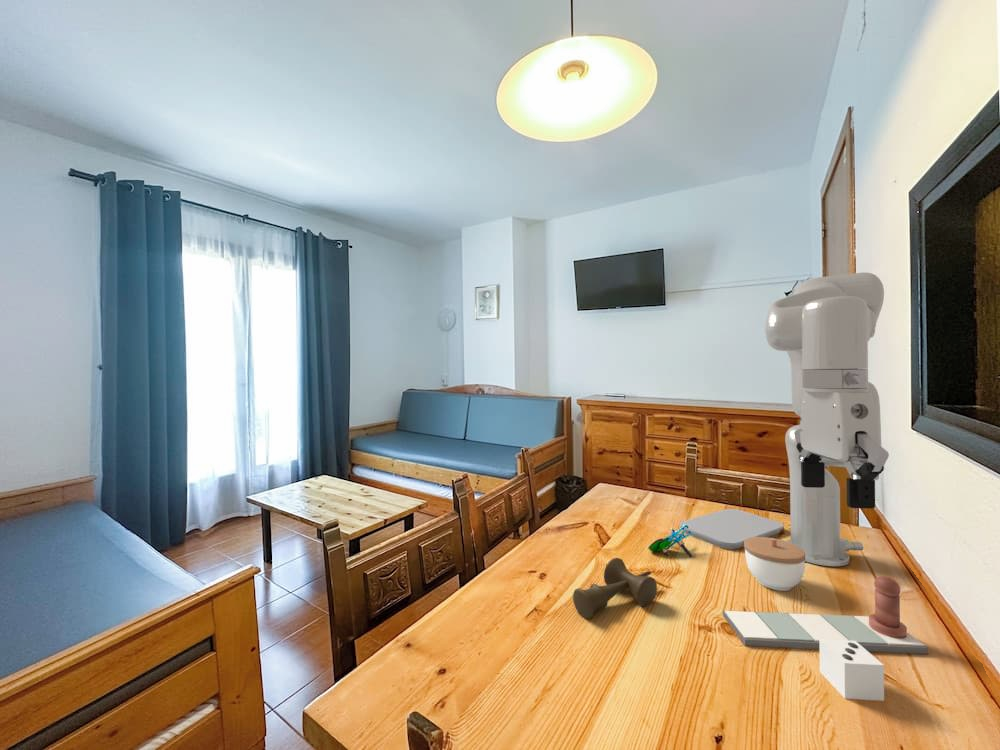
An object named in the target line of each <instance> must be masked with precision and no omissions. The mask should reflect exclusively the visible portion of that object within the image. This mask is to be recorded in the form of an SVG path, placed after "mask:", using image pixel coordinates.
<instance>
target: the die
mask: <svg viewBox="0 0 1000 750" xmlns="http://www.w3.org/2000/svg"><path fill="white" fill-rule="evenodd" d="M819 647H820V649H819V673H821V675H822V676H824V677H825V679H826V680H827V681H828V683H830V684H831V685H832V686H833V688H834V689H836V691H837V692H838V693H839V694H840V695H841V696H842V697H843V698H844V699H848V700H849V699H850V700H851V699H852V700H864V701H865V700H866V701H882V702H884V701H885V665H884V663H882V662H881V661H880V660H879V659H877V658H876V657H875V656H874V655H873V654H872V653H870V651H867V650H866V649H865V648H863V647H862V646H861V645H860V644H859V643H857V642H856V641H852V640H830V639H819Z"/></svg>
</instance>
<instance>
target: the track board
mask: <svg viewBox="0 0 1000 750" xmlns="http://www.w3.org/2000/svg"><path fill="white" fill-rule="evenodd" d="M869 616H870V615H848V614H847V615H846V614H845V615H844V614H841V615H840V614H822V613H817V614H816V613H795V612H794V613H792V612H769V611H767V612H766V611H764V612H763V611H744V610H743V611H742V610H741V611H739V610H723V611H722V617H723V619H725V621H726V622H727V624H729V626H730V627H731V629H732V630H733V632H734V633H735V634H736V636H737V637H738V639H740V641H741V642H742V643H743V645H744V647H745V646H746V647H747V646H749V647H765V648H766V647H769V648H789V649H808V650H809V649H811V650H820V647H819V639H830V640H852V641H856V642H857V643H859V644H860V645H861V646H862V647H863V648H865V649H866V650H867V651H868V652H873V653H874V652H875V653H898V654H914V655H915V654H916V655H917V654H918V655H919V654H920V655H929V647H928V646H926V645H925V643H923V642H921V641H920V640H918V639H917V638H915V637H914V636H913V635H912V634H910V633H909V632H907V637H906V638H903V639H897V638H892V637H888V636H885V635H883V634H880V633H878V632H877V631H875V630H873V629H872V628H871V627H870V626H869Z"/></svg>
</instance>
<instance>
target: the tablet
mask: <svg viewBox="0 0 1000 750" xmlns="http://www.w3.org/2000/svg"><path fill="white" fill-rule="evenodd" d="M684 525H687V526H688V527H689V528H687V527H685V528H684V529H685V530H686V531H685V533H684V534H685V535H687V534H689V531H690V532H691V533H692V535H690V536H692V537H694V538H697V539H699V540H702V541H705V542H706V543H709V544H711V545H714V546H716V547H719V548H721V549H726V550H736V549H739V548H742V547H744V541H745V540H746V539H748V538H751V537H769V538H770V537H771V536H775V535H778V534H780V533H781V530H784V524H783V523H782V522H780V521H777V520H774V519H771V518H767V517H765V516H761V515H757V514H754V513H752V512H748V511H745V510H741V509H736V508H724V509H721V510H718V511H714V512H711V513H706V514H704V515H701V516H697V517H693V518H690V519H685V520H682V521H681V522H679V527H680V528H682V527H683V526H684Z"/></svg>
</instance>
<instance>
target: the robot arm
mask: <svg viewBox="0 0 1000 750" xmlns="http://www.w3.org/2000/svg"><path fill="white" fill-rule="evenodd" d="M884 298H885V288H884V285H883V282H882V280H881V279H880V277H878V276H877V275H876V274H873V273H872V272H856V273H846V274H845V273H844V274H838V275H829V276H821V277H815V278H811V279H808V280H805V281H803V282H802V283H801V284H799V285H798V286H797V288H795V290H794V292H793V294H792V295H790V296H786V297H784V298H780V299H778V300H776V301H775V302H773V303H772V304H771V305H770V306H769V309H767V310H768V311H767V314H766V319H765V320H766V321H765V327H764V328H765V338H766V341H767V343H768V345H769V347H770V348H772V349H774V350H777V351H781V352H786V353H787V355H788V358H789V360H790V361H789V362H790V370H791V403H792V404H791V405H792V409H793V412H794V414H795V415H796V416H798V417H800V421H799V423H800V424H796V425H793V426H791V427H790V428H788V429H787V431H786V433H785V437H784V438H785V440H784V441H785V448H786V454H787V460H788V468H789V491H790V492H789V493H790V494H789V495H790V496H789V498H790V499H789V502H790V503H789V505H790V509H789V510H790V511H789V513H790V517H789V518H790V539H787V540H785V541H786V542H789V543H792V544H794V545H796V546H798V547H800V548H801V549H802V550H803V551H804V552H805V562H806V563H810V564H813V565H819V566H824V567H843V566H847V565H849V563H850V556H849V555H848V553H847V552H849V551H863V550H864V545H863V544H862V542H860V541H849V540H848V538H841V488H840V484H839V482H838V480H837V478H835V476H834V475H833V474H832V473H831V472H830V471H829V470H828V469H827V468H826V467H840V468H845V469H846V471H847V473H848V475H849V477H846V505H847V507H849V508H851V509H872V510H873V509H875V507H876V481H878V480H879V479H880V474H882V472H884V470H885V465H886V462H887V460H888V458H889V454H890V453H889V452H888V450H886V449H885V448H884V447H883V446H882V430H881V429H882V428H881V427H882V425H881V404H880V395H879V392H878V390H877V388H876V386H875V385H874V384H873V383H872V382H870V381H869V369H868V368H869V349H868V348H869V347H868V345H869V341H870V339H871V338H873V337H874V336H875V334H876V327H877V322H878V319H879V316H880V313H881V310H882V308H883V305H884Z"/></svg>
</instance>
